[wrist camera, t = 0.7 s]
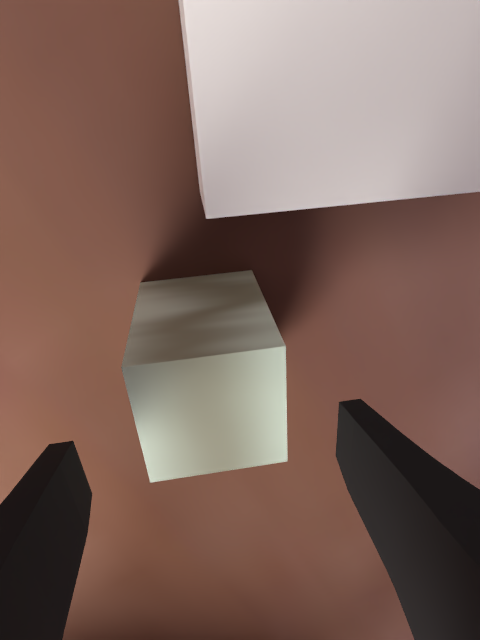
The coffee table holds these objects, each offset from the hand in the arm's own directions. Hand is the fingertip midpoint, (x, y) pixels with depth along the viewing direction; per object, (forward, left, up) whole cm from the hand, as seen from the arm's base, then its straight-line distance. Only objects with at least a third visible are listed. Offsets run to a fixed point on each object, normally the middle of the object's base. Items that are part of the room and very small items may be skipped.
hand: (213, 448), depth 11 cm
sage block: (0, 0, -7) cm, 7 cm away
